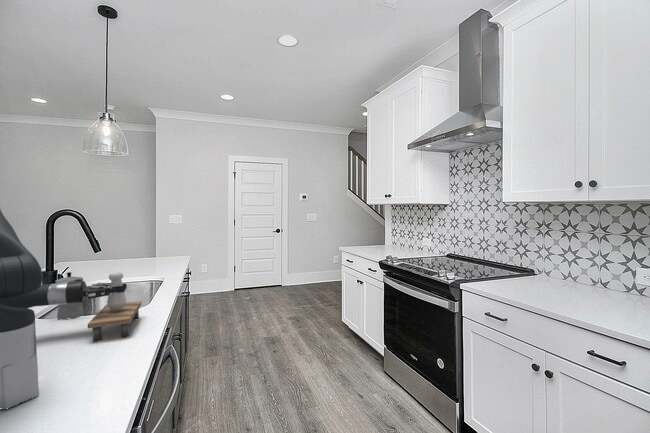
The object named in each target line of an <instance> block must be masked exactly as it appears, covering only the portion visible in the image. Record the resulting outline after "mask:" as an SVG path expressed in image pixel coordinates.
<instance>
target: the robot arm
mask: <svg viewBox="0 0 650 433" xmlns="http://www.w3.org/2000/svg"><path fill="white" fill-rule="evenodd" d="M43 276H44V275H43V270H42V268H41V265H40V264H39V261H38V260H37V258H35V256H34V255H33V254H32V253H31V252H30V251H29V250H28V249H27V248H26V246H25V245H24V244H23V243H22V241H21V240H20V238H19V237H18V235H17V233H16V230H15V229H14V228H13V226H12V224H10V222H9V221H8V220H7V217H5V215H4V213H3V211H2V210H1V208H0V408H4V409H7V408H10V407H12V406H14V407H16V406H18V405H17V404H19V403H21V402H23V403H25V402H27V401H29V400H28V399H30V400H32V399H33V398H36V397H38V396H40V389H39V370H38V355H37V353H38V352H37V335H36V332H37V331H36V313H35V310H33V309H31V308H34V307H43V306H59V305H63V304H73V303H82V304H83V303H84V302H85V301H86V300H87V299H86V298H88V299H89V300H92V299H96V298H101V297H103V298H104V297H108V295H109V294H112V293H114V292H116V293H120V292H124V293H125V291H127V288H128V287H127V286H128V285H127V283H122V285H123V286H117V287H113V288H112V287H111V286H110V285H111V282H97V283H93V284H91V285H87V283H86V281H85V280H83V281H73V282H61V283H56V282H55V283H46V284H43V279H44V277H43ZM31 398H32V399H31ZM26 400H27V401H26ZM24 401H25V402H24ZM21 404H22V403H21ZM15 405H16V406H15ZM19 405H20V404H19ZM12 408H13V407H12ZM4 409H3V410H4ZM10 409H11V408H10ZM7 410H8V409H7Z"/></svg>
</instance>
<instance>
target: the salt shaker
mask: <svg viewBox="0 0 650 433" xmlns="http://www.w3.org/2000/svg"><path fill="white" fill-rule="evenodd" d="M123 278H124V273H123V272H121V271H114V272H111V273H109V274H108V279H109V280H110V283H111V285H110V286H111V287H112V288H113V287H117V286H123V285H122V284H123V281H122V279H123ZM110 286H109V287H110ZM126 302H127V298H126V294H125V292H120V293H116V292H114V293H112V294H109V295H108V296H107V300H106V305H107V304H108V306H109V308H110V310H117V309H121V308H123V307H124V305H125V303H126Z"/></svg>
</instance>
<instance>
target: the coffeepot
mask: <svg viewBox="0 0 650 433" xmlns="http://www.w3.org/2000/svg"><path fill="white" fill-rule="evenodd" d="M73 281H84V278H83V277H82V276H72V272H69V271H68V272H66V277H62V278H58V279H57V280H55V283H61V282H73ZM84 315H85V310H84V307H83V302H82V303H73V304H63V305H58V308H57V315H56V318H57V319H58V320H60V319H62V320H64V321H65V320H68V319H67V318H72V319H76V318H79V317H82V316H84Z"/></svg>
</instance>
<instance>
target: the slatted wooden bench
mask: <svg viewBox="0 0 650 433" xmlns="http://www.w3.org/2000/svg"><path fill="white" fill-rule="evenodd" d="M141 306H142V300H138V301H137V300H136V301H128V302H127V301H126V303H125V305H124V307H123V308H121V309H117V310H110V308H109V306H108V304H107V303H106V304H105V305H104V306H103V307H102V308H101V310H100V311H99V312H97V314H96V315H94V317H93V318H92V319H91V320H90V321H89V322H88V323H87V329H92V342H94V343H95V342H101V341H102V340H103V338H102V336H103V334H102V331H103V330H102V328H103V327H110V326H119V325H120V338H121V339H126V338H128V337H130V329H129V328H130V327H129V326H130V325H129V324H131V322H132V321H137V319H138V320H139V318H140V315H139V312H140V311H139V310H140V309H141Z"/></svg>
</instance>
